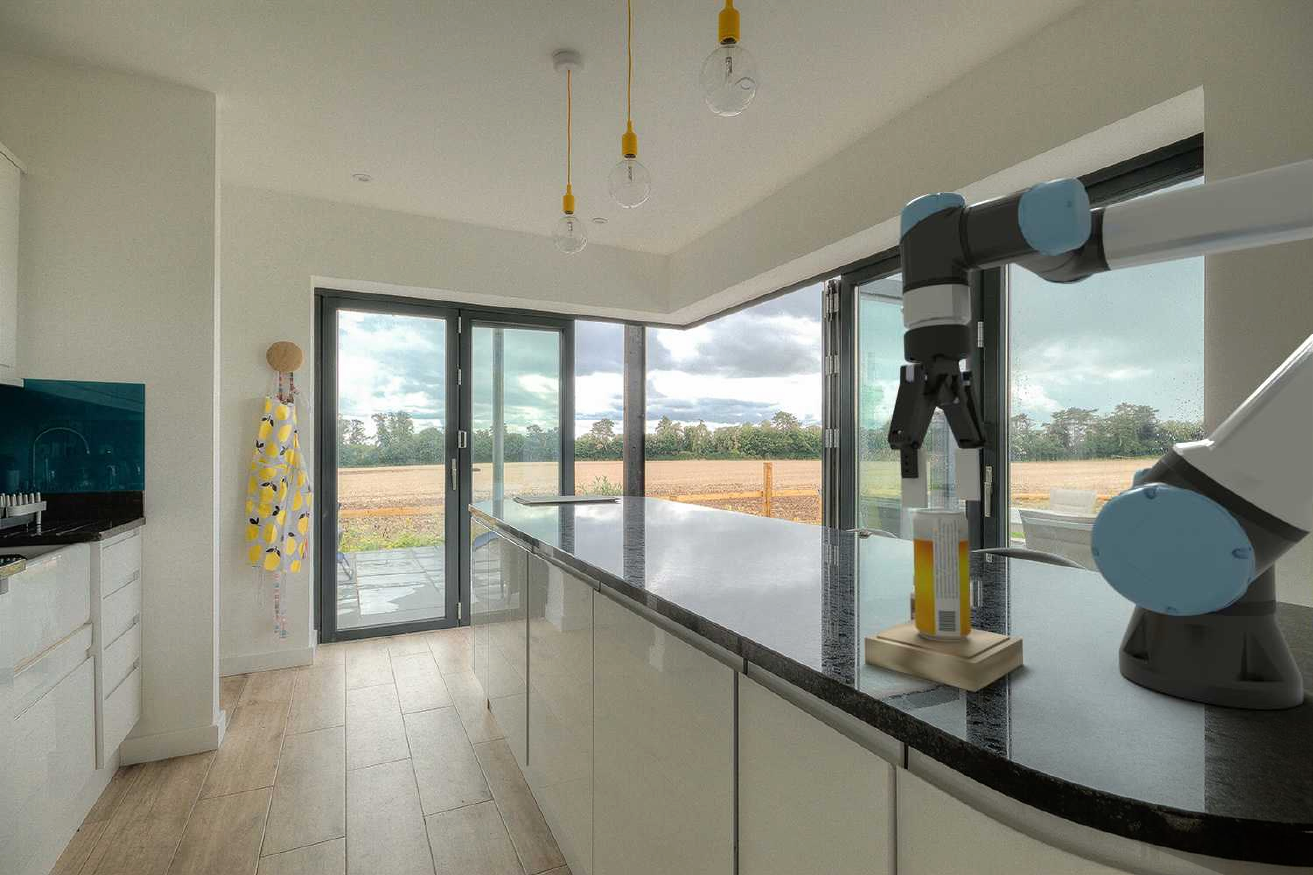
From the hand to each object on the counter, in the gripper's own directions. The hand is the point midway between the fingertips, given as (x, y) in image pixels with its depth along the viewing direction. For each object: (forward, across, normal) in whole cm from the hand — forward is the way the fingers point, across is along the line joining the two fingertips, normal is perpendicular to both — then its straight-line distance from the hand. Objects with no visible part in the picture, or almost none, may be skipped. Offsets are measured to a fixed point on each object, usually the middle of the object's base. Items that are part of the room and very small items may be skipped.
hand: (943, 504), depth 78 cm
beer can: (+16, 0, -1) cm, 16 cm away
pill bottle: (+19, -12, -9) cm, 24 cm away
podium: (+19, 0, -1) cm, 19 cm away
